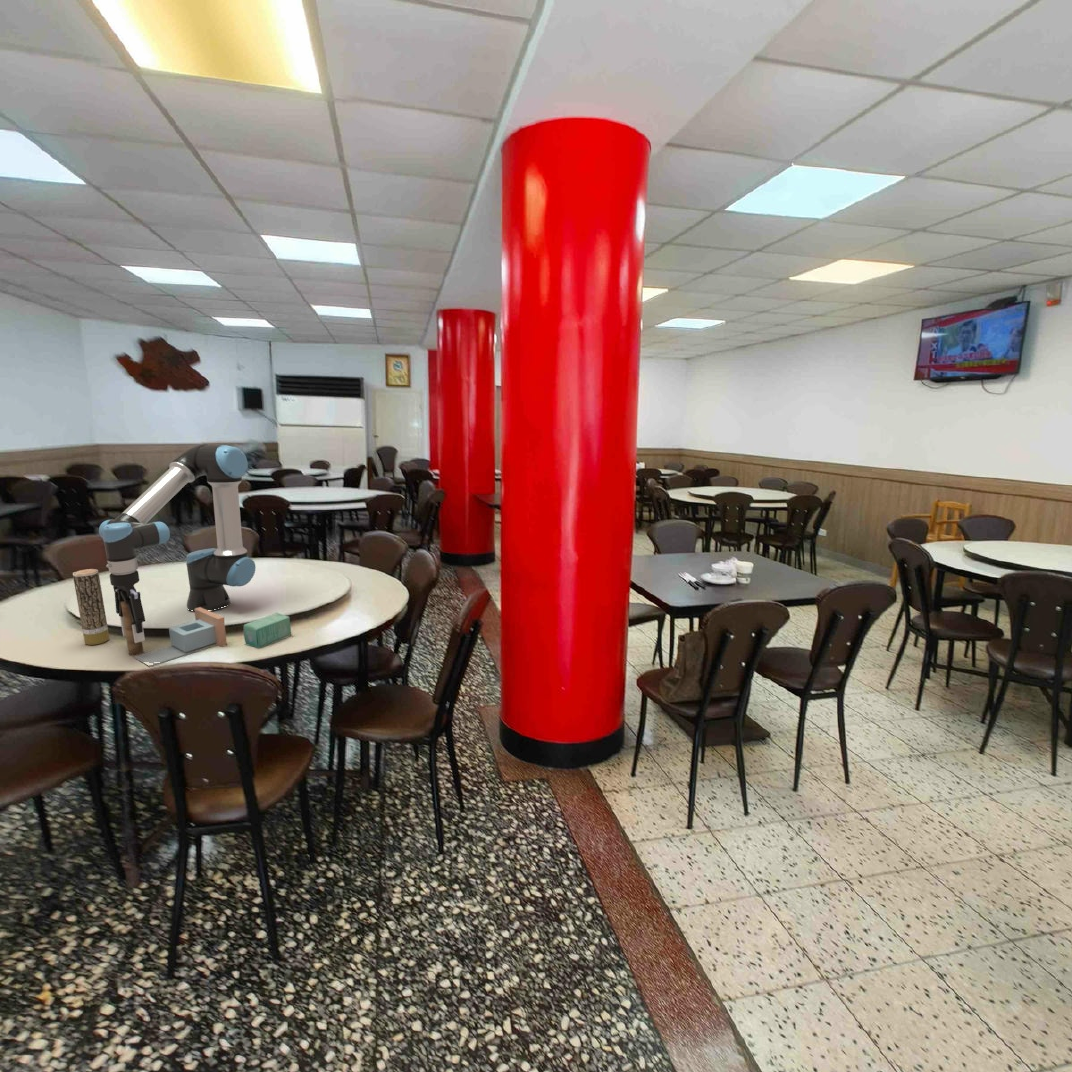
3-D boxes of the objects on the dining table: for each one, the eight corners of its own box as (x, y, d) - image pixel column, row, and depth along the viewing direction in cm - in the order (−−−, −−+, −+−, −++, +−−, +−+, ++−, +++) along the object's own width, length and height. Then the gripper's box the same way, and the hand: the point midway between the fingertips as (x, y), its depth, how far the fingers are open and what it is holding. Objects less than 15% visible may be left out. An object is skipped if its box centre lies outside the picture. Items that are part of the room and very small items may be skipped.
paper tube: (114, 637, 202) (103, 569, 196) (100, 645, 195) (88, 575, 190) (94, 637, 202) (82, 568, 196) (79, 645, 195) (67, 575, 189)
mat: (206, 635, 206) (206, 634, 206) (223, 642, 200) (223, 641, 200) (134, 657, 187) (133, 656, 187) (149, 667, 181) (149, 666, 181)
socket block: (201, 635, 204) (199, 619, 202) (216, 642, 198) (214, 626, 197) (171, 644, 196) (168, 628, 194) (185, 652, 190) (183, 635, 189)
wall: (203, 633, 207) (200, 607, 205) (226, 644, 198) (223, 617, 196) (197, 635, 206) (194, 608, 203) (221, 646, 197) (217, 619, 194)
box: (244, 644, 199) (242, 624, 197) (278, 631, 211) (276, 612, 209) (257, 649, 196) (255, 628, 194) (291, 635, 207) (290, 616, 205)
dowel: (140, 649, 194) (132, 598, 189) (145, 652, 191) (138, 601, 187) (126, 653, 190) (118, 601, 186) (132, 656, 188) (123, 604, 184)
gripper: (96, 568, 187) (107, 634, 192) (124, 580, 176) (135, 650, 181) (123, 563, 193) (132, 627, 198) (151, 575, 182) (161, 642, 187)
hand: (133, 638), depth 190 cm, fingers open, 8 cm apart
